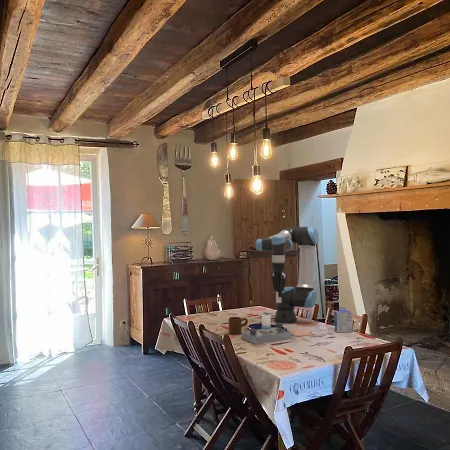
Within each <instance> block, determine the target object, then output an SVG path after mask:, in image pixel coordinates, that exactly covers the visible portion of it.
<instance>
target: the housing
mask: <svg viewBox="0 0 450 450" xmlns="http://www.w3.org/2000/svg"><path fill="white" fill-rule="evenodd" d="M290 331H291V330H290ZM290 331H289V330H286V329H283V328H281V331H278V327H276V326H275V327H271V333H266V334H264V333H262V328H260V329H257V333H255V334H253V335H252V334H251V333H250V331H249V330H245V331H241V334H242V335H241V336H242V337H241V338H242V340H245V341H246V342H249V343H251V344H253V345H258V344H264V343H265V344H266V343H271V342H279V341H284V340H291V337H292V335H291V332H290Z"/></svg>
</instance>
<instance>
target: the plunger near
mask: <svg viewBox="0 0 450 450" xmlns="http://www.w3.org/2000/svg"><path fill="white" fill-rule="evenodd" d="M257 330H258V329H256V328H250V329H249V330H248V331H250V333H251V334H252V335H253V334H255V333H257Z"/></svg>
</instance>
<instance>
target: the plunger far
mask: <svg viewBox="0 0 450 450" xmlns="http://www.w3.org/2000/svg"><path fill="white" fill-rule="evenodd" d="M283 326H284V323H278V322H275V327H278V331H281V329H282V327H283Z"/></svg>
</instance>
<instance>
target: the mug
mask: <svg viewBox="0 0 450 450" xmlns="http://www.w3.org/2000/svg"><path fill="white" fill-rule="evenodd" d="M244 321H245V322H244ZM242 322H244V323H242ZM248 323H249V320H248V318H247V317H239V316H230V317H229V318H228V334H230V335H234V336H236V335H241V334H242V328H243V327H245V326H247V325H248Z"/></svg>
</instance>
